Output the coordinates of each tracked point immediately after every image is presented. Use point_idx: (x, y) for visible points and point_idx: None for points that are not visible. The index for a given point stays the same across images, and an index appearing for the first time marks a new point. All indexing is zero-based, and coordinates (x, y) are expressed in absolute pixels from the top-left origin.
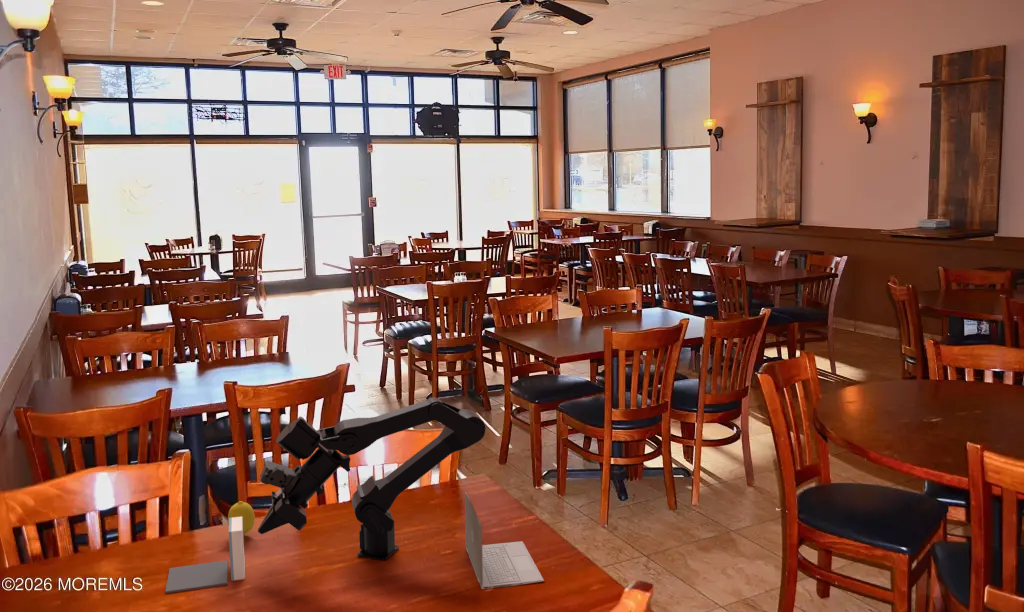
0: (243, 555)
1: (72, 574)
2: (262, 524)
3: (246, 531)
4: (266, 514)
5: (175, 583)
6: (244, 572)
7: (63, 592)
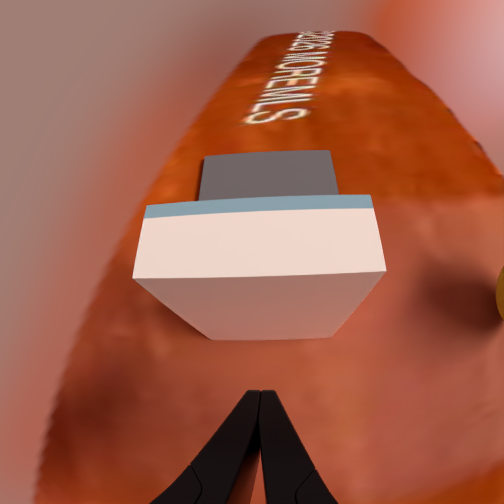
0: (185, 320)
1: (334, 58)
2: (230, 423)
3: (501, 316)
4: (307, 466)
5: (237, 167)
6: (206, 335)
7: (275, 58)
